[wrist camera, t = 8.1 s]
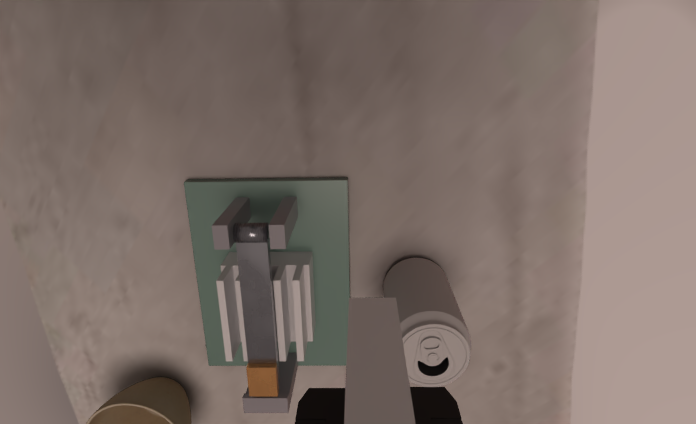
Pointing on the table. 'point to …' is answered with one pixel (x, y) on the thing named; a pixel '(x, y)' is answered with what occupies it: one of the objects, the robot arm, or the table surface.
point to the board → (304, 237)
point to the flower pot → (146, 404)
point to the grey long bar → (258, 307)
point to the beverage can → (428, 322)
